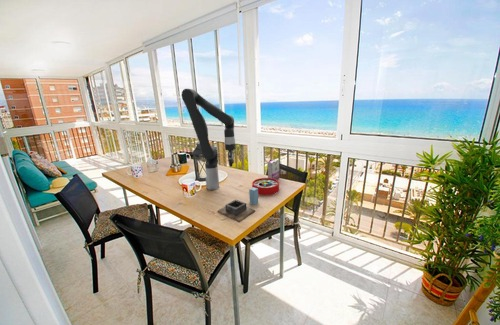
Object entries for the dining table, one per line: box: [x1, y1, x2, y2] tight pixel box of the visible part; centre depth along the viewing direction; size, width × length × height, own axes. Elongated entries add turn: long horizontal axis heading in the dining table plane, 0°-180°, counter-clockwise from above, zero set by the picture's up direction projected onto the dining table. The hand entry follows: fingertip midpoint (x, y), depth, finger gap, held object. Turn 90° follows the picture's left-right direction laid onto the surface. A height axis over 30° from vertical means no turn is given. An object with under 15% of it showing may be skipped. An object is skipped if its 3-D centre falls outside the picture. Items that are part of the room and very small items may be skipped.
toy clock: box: [251, 177, 280, 196], centre depth 148 cm, size 20×6×20 cm
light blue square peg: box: [248, 187, 259, 206], centre depth 127 cm, size 4×4×10 cm
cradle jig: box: [217, 199, 256, 223], centre depth 118 cm, size 18×14×5 cm
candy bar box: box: [266, 158, 280, 180], centre depth 166 cm, size 11×5×16 cm, turn 139°
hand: (231, 164), depth 146 cm, fingers open, 8 cm apart
